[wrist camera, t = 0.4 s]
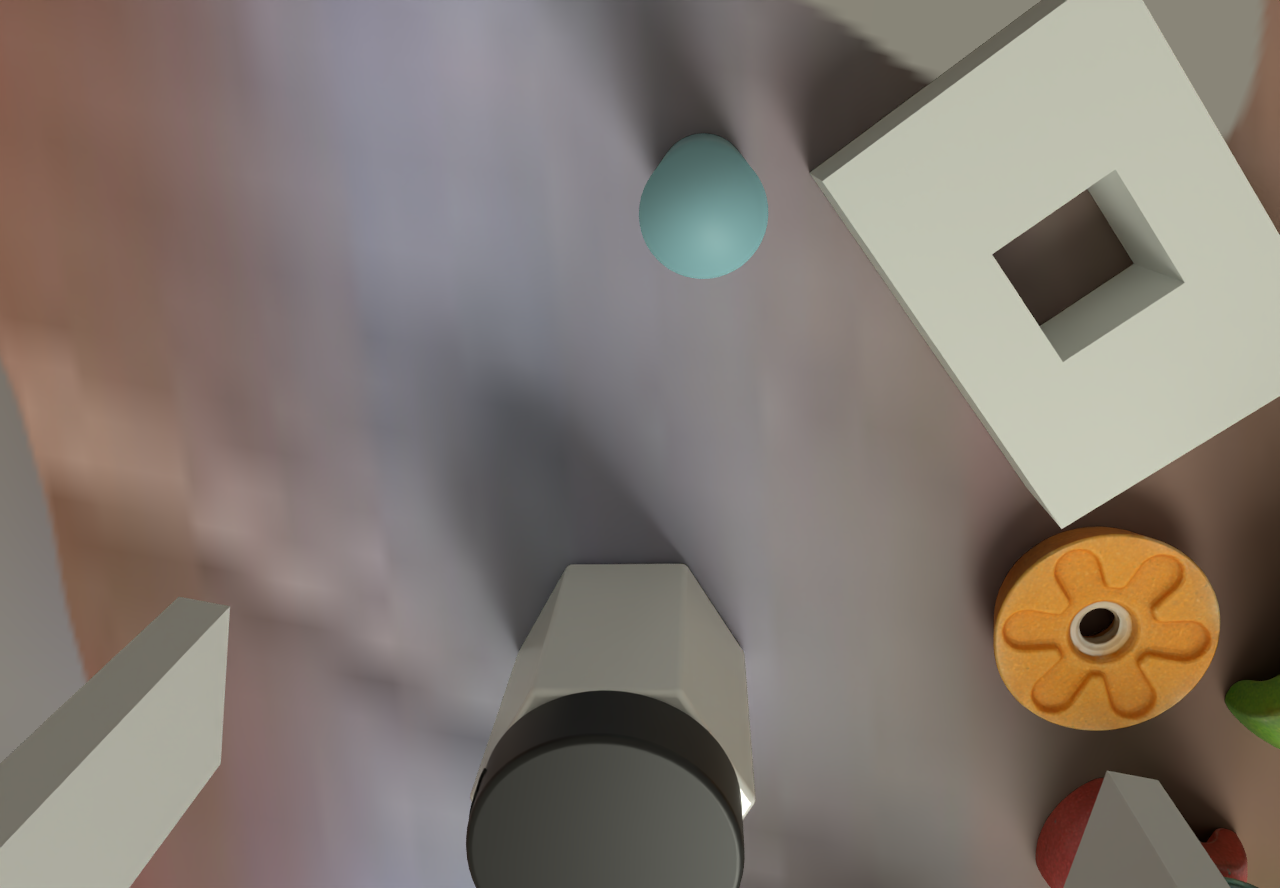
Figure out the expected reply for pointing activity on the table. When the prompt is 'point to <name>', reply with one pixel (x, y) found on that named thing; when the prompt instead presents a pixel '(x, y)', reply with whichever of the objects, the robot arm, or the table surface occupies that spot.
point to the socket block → (1036, 187)
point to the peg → (703, 208)
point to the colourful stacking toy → (1115, 659)
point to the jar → (618, 742)
